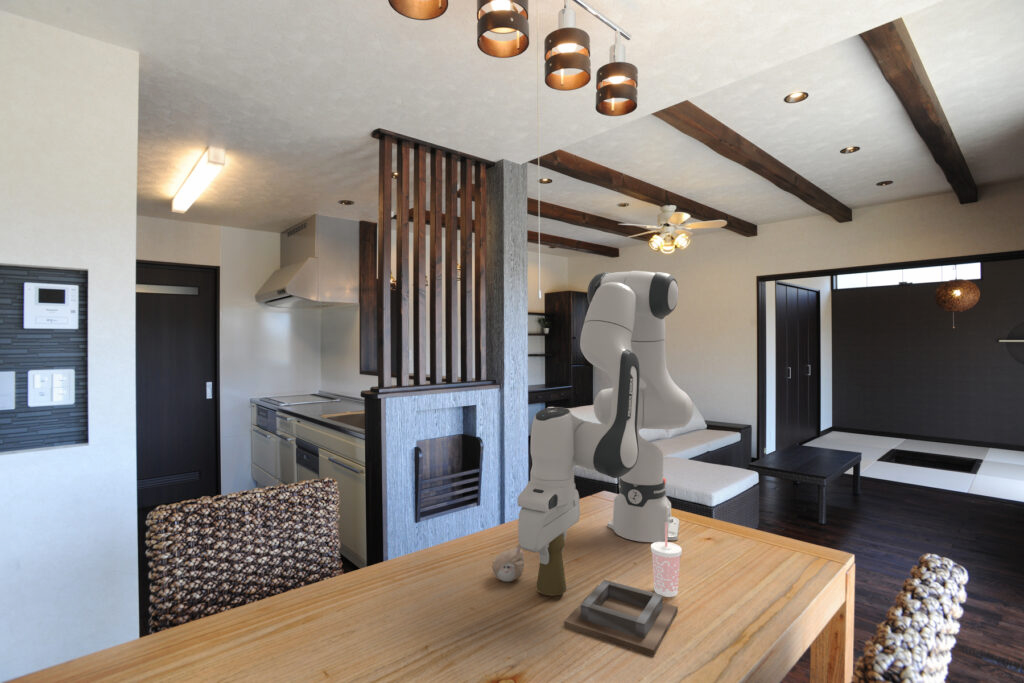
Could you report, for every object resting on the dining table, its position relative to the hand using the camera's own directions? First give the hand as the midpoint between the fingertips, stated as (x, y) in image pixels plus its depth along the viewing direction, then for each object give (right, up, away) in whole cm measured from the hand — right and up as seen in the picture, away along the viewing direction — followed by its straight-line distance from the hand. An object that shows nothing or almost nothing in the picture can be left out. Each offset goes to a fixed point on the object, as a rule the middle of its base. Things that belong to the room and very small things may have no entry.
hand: (551, 557), depth 101 cm
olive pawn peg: (0, -6, 0) cm, 6 cm away
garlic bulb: (-9, -8, +6) cm, 13 cm away
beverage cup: (+24, -8, +1) cm, 25 cm away
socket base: (+12, -7, -9) cm, 17 cm away
